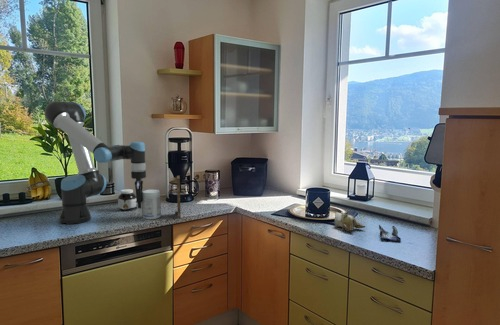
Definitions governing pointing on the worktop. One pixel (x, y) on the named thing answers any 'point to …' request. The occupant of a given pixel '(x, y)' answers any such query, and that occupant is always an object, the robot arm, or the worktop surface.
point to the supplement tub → (151, 204)
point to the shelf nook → (177, 180)
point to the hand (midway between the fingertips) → (140, 213)
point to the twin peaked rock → (394, 234)
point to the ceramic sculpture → (346, 221)
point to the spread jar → (127, 200)
